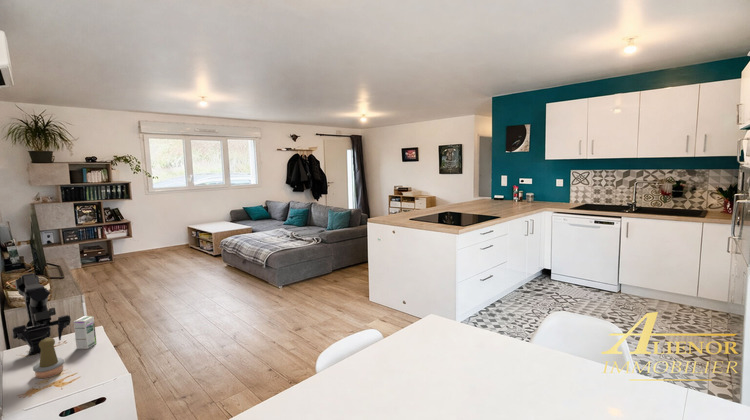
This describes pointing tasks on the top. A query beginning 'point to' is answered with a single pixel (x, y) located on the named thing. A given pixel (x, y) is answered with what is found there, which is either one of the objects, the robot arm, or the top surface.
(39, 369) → the lid
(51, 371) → the bowl
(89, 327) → the syrup box
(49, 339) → the cork
